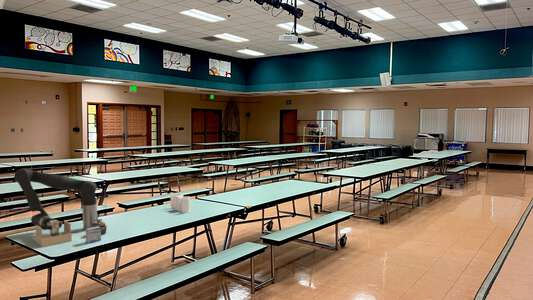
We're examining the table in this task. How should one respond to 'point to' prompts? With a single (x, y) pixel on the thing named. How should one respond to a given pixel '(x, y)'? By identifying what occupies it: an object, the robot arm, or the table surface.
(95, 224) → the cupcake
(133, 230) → the table surface
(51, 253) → the table surface
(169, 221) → the table surface
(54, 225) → the box
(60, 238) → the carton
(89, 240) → the medicine box
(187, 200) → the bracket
